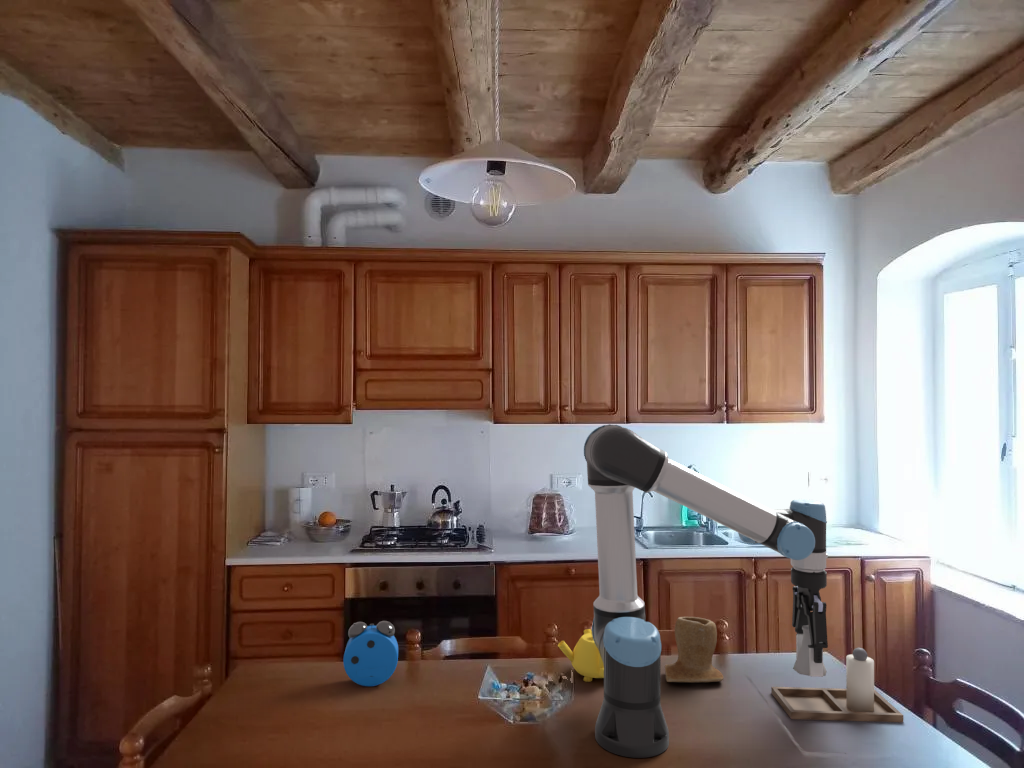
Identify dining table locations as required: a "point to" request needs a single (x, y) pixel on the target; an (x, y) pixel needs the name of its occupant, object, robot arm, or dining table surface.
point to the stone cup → (694, 652)
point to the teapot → (585, 657)
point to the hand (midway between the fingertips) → (809, 668)
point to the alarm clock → (371, 653)
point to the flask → (805, 654)
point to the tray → (830, 705)
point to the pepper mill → (860, 681)
